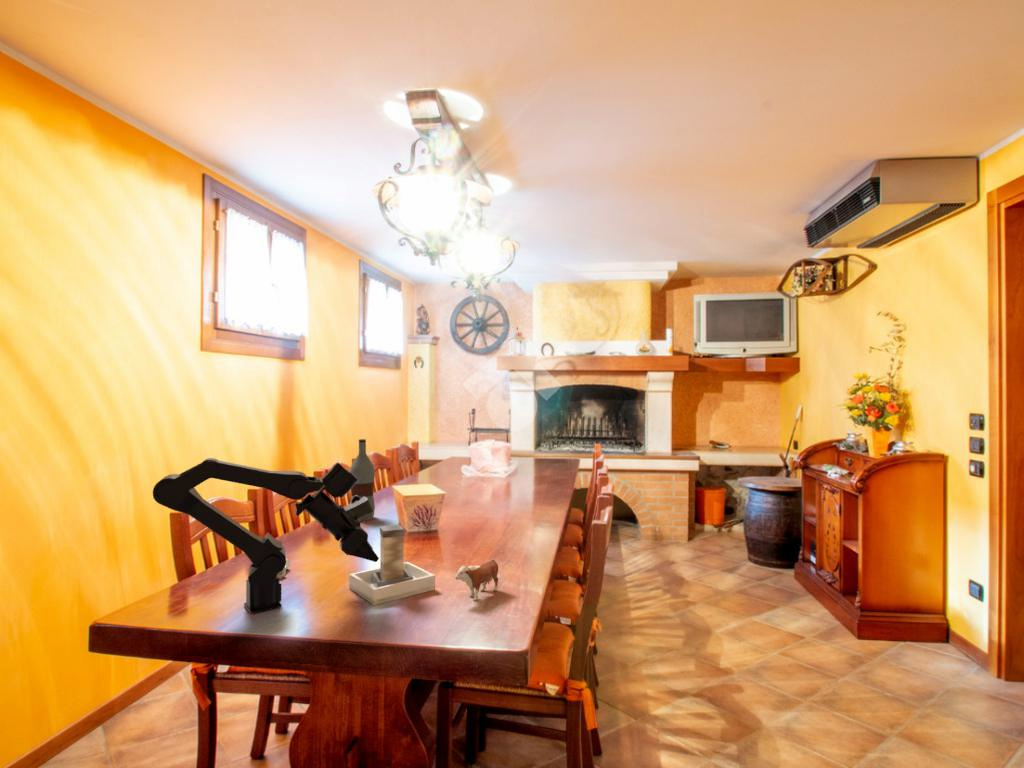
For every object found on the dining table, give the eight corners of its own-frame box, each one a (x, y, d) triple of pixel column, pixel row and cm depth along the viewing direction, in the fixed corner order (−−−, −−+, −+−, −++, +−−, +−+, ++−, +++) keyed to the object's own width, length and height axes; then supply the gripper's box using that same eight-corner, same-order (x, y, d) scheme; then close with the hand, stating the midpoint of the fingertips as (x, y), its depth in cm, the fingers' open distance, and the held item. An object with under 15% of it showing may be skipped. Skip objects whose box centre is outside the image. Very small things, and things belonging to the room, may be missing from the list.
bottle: (368, 515, 222) (368, 438, 222) (379, 519, 215) (379, 439, 215) (345, 518, 216) (345, 439, 216) (355, 522, 209) (355, 441, 209)
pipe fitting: (285, 569, 157) (260, 572, 153) (286, 554, 158) (261, 558, 153) (297, 575, 152) (272, 579, 147) (298, 560, 152) (273, 564, 147)
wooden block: (383, 589, 137) (383, 531, 137) (379, 583, 141) (380, 526, 141) (404, 587, 138) (404, 529, 138) (400, 580, 143) (400, 524, 143)
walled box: (374, 605, 129) (374, 589, 129) (349, 588, 140) (349, 574, 140) (435, 589, 139) (435, 575, 139) (407, 575, 150) (407, 561, 150)
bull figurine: (451, 601, 132) (451, 566, 132) (491, 586, 142) (491, 553, 142) (465, 606, 129) (465, 570, 129) (504, 590, 139) (504, 556, 139)
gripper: (357, 493, 128) (406, 538, 132) (347, 481, 145) (390, 521, 149) (320, 532, 125) (371, 576, 129) (314, 514, 142) (359, 554, 146)
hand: (374, 554), depth 138 cm, fingers open, 9 cm apart
